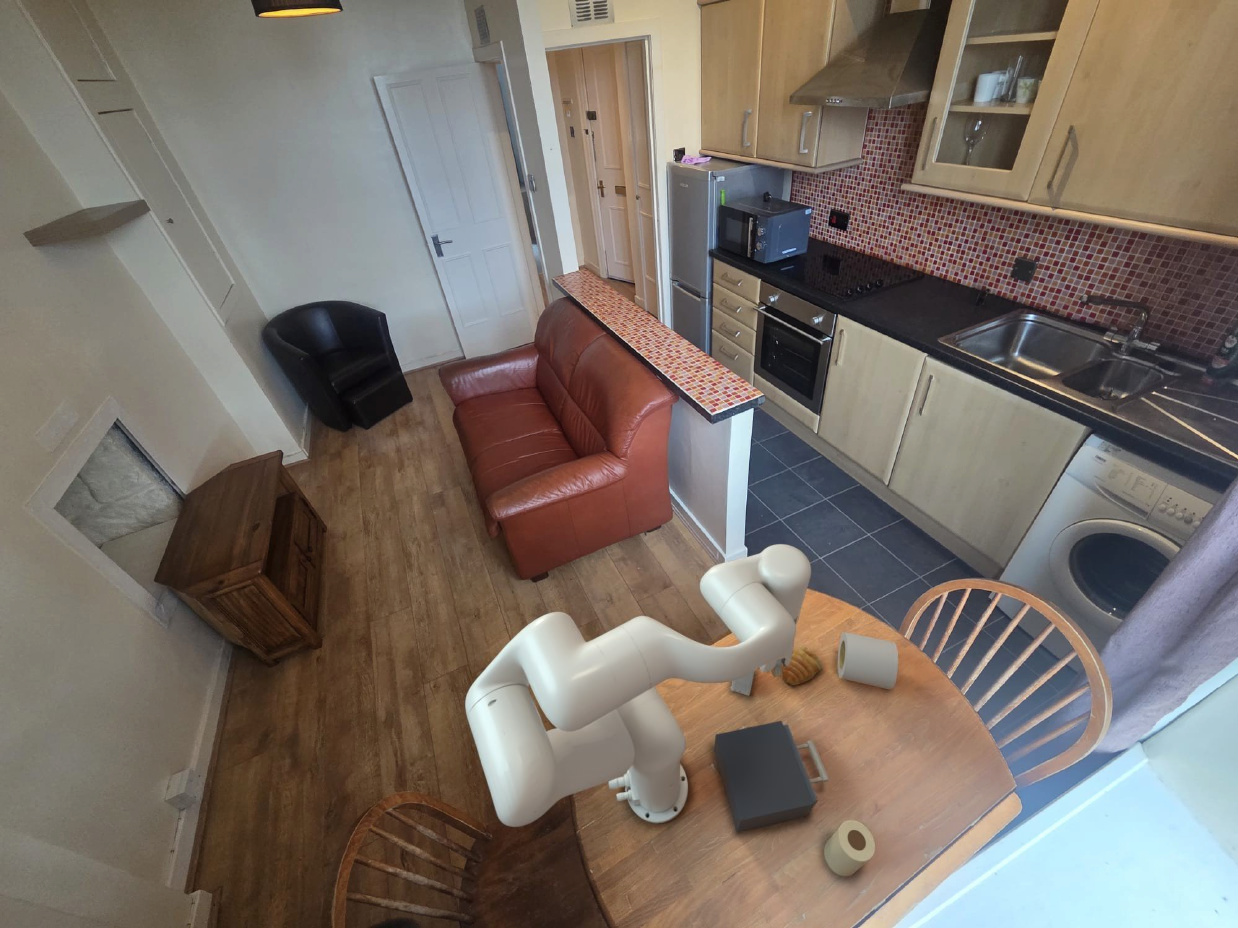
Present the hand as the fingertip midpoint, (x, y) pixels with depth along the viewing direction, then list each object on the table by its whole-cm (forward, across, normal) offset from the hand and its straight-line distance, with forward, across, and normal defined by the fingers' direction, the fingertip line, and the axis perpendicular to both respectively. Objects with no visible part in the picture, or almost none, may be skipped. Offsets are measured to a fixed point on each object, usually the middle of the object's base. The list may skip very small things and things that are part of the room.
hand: (761, 663), depth 92 cm
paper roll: (+27, +25, +8) cm, 38 cm away
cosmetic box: (+27, -9, +2) cm, 29 cm away
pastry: (+27, -9, +16) cm, 33 cm away
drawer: (+26, +11, +2) cm, 28 cm away
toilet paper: (+27, -6, +29) cm, 40 cm away
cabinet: (+27, +11, -2) cm, 29 cm away
